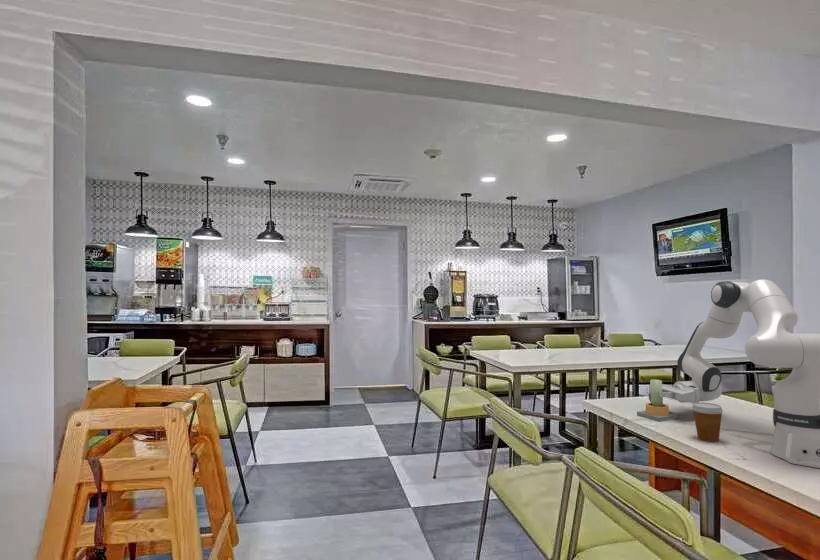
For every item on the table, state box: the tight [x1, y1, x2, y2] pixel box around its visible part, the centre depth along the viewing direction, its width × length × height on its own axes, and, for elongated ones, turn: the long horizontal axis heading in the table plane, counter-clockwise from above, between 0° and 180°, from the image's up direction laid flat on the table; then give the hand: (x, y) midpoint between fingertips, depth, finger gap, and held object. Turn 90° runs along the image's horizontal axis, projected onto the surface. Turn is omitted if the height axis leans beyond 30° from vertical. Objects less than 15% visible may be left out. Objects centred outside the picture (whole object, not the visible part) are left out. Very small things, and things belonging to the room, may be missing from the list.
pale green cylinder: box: [649, 378, 664, 407], centre depth 191 cm, size 4×4×12 cm
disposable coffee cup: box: [691, 401, 724, 442], centre depth 160 cm, size 10×10×12 cm
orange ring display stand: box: [636, 402, 679, 422], centre depth 190 cm, size 11×11×5 cm
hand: (654, 393), depth 190 cm, fingers closed on pale green cylinder, 4 cm apart
